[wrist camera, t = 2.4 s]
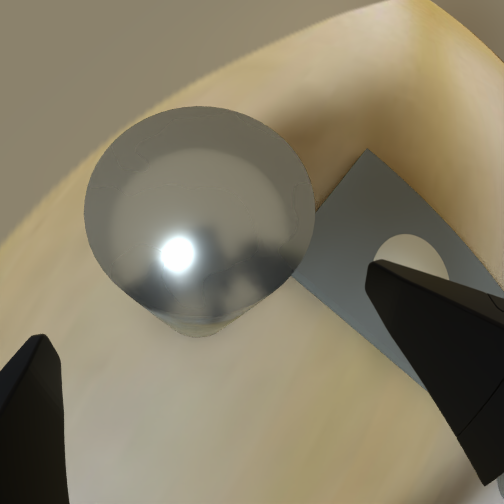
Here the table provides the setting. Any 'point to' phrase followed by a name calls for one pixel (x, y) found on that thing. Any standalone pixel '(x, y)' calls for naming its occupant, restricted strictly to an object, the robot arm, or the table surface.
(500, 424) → the robot arm
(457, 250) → the mat
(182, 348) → the table surface
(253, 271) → the metal pin
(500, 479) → the grey tapered cylinder
